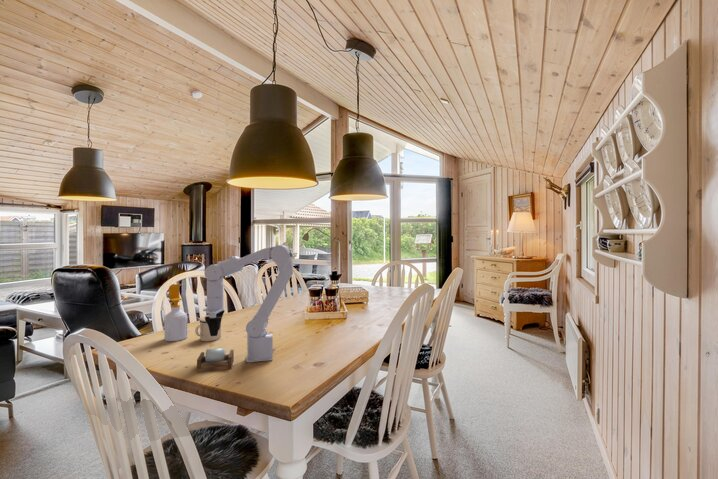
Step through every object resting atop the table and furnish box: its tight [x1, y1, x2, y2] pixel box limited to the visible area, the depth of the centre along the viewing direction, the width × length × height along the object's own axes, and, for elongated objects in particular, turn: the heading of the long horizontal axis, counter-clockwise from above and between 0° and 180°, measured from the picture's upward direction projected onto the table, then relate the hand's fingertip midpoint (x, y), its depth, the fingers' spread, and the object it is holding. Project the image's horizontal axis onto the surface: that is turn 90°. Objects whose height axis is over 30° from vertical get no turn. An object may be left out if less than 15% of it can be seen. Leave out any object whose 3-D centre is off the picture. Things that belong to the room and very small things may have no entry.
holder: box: [196, 349, 235, 373], centre depth 122 cm, size 11×8×4 cm
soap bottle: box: [163, 283, 188, 342], centre depth 154 cm, size 9×9×25 cm
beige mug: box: [194, 312, 222, 342], centre depth 153 cm, size 12×9×12 cm
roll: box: [204, 347, 226, 363], centre depth 122 cm, size 6×5×5 cm
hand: (215, 332), depth 128 cm, fingers open, 7 cm apart
